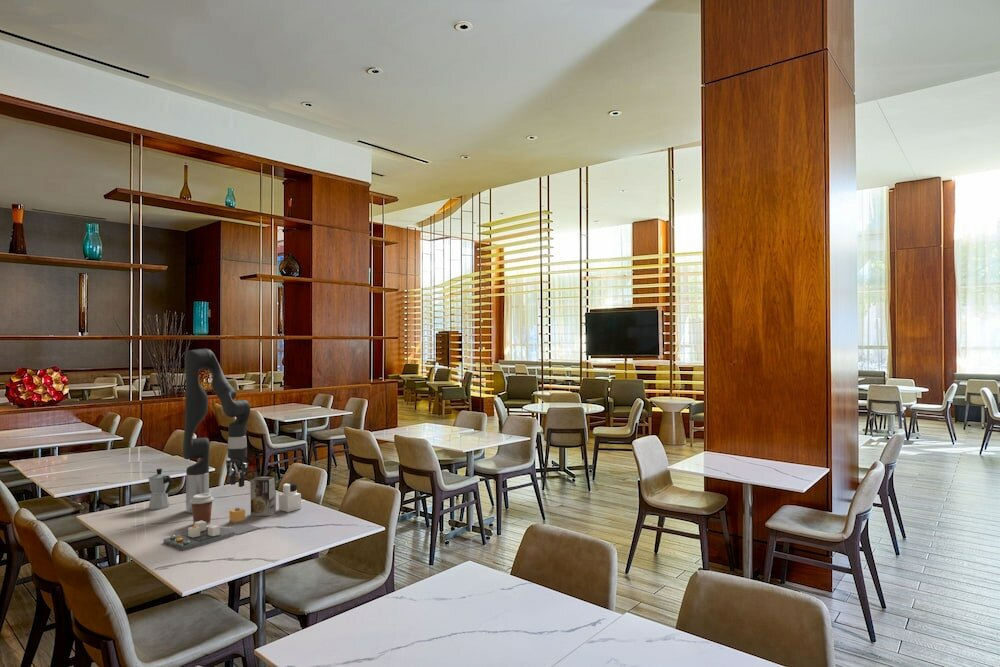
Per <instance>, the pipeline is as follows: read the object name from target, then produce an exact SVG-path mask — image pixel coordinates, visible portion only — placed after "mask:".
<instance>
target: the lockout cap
mask: <svg viewBox="0 0 1000 667" xmlns="http://www.w3.org/2000/svg"><path fill="white" fill-rule="evenodd" d="M228 514H229V515H228V516H229V518H228V519H229V520H228V522H229V523H231V524H234V525H236V524H237V525H238V524H240V523H243V522H246V509H243V508H240V507H235V508H234V509H230V510H229V513H228Z"/></svg>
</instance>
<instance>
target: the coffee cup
mask: <svg viewBox="0 0 1000 667" xmlns="http://www.w3.org/2000/svg"><path fill="white" fill-rule="evenodd" d="M213 501H215V498H214V497H213V496H212V494H211V493H210V492H209V493H204V494H197V495H194V496H193V499H192V500H190V503H191V504H192V512H193V513H192V522H193V526H195V522H197V521H201V520H202V521H205V522H206V526H208V525H210V524H211V521H212V520H211V518H212V508H213Z"/></svg>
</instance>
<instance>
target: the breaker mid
mask: <svg viewBox="0 0 1000 667" xmlns="http://www.w3.org/2000/svg"><path fill="white" fill-rule="evenodd" d="M187 532H188V536H190V537H192V538H194V537H197V536H200V527H197V526H194V525H193V526H190V527H187Z"/></svg>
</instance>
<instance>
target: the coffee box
mask: <svg viewBox="0 0 1000 667" xmlns="http://www.w3.org/2000/svg"><path fill="white" fill-rule="evenodd" d="M276 478H277V477H276V476H255V477H254V478H252V479H250V517H251V516H252V517H253V516H255V517H257V516H260V517H261V516H265V517H267V516H272V515H273V514H276V512H277V509H276V508H277V506H276V504H277V501H276V500H277V498H276V497H277V496H276V495H277V493H276V492H277V491H276V490H277V489H276V488H277V487H276V486H277V485H276V481H277V480H276Z"/></svg>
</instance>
